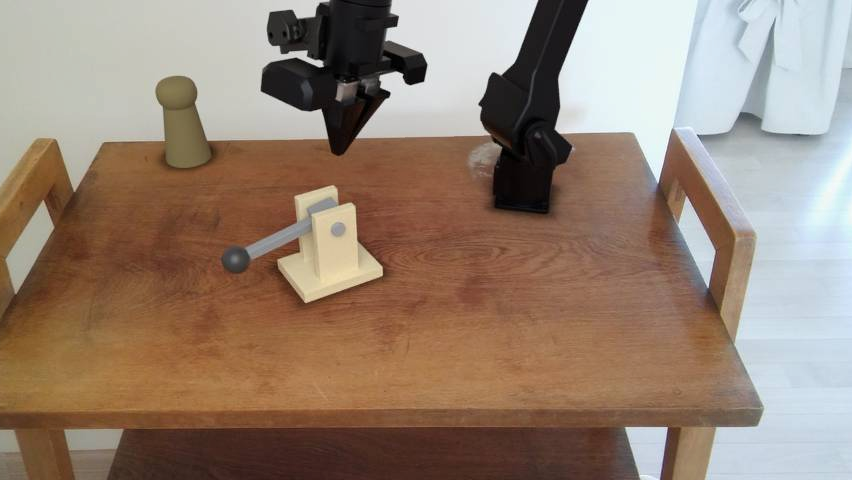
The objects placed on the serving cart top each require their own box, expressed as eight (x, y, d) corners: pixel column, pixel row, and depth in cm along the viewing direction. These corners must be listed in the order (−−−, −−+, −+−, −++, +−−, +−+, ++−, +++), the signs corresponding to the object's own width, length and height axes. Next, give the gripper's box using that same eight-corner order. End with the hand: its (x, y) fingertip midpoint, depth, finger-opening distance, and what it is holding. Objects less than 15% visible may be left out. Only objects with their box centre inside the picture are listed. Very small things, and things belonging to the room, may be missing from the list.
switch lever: (232, 284, 74) (223, 262, 72) (222, 269, 76) (213, 248, 74) (346, 227, 78) (341, 205, 76) (334, 215, 80) (328, 193, 78)
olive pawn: (216, 147, 106) (204, 70, 99) (204, 168, 101) (190, 89, 94) (174, 146, 106) (158, 69, 100) (159, 167, 101) (142, 88, 95)
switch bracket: (305, 303, 77) (297, 230, 72) (278, 268, 82) (269, 197, 77) (383, 276, 81) (381, 204, 76) (352, 244, 86) (348, 174, 81)
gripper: (357, -30, 81) (337, 110, 89) (224, -21, 67) (213, 144, 75) (444, 0, 76) (413, 146, 84) (318, 16, 62) (296, 188, 70)
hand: (337, 154), depth 78 cm, fingers closed
